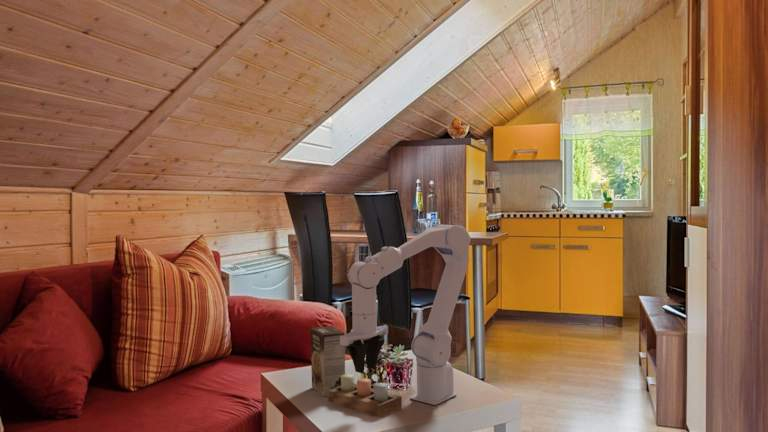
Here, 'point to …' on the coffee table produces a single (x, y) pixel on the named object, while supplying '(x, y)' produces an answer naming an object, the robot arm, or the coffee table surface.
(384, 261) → the robot arm
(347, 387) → the pale green egg
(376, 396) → the white egg
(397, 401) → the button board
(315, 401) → the coffee table surface
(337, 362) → the coffee box
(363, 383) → the orange egg
